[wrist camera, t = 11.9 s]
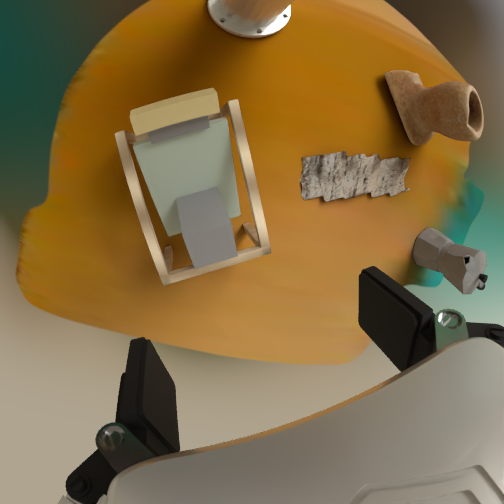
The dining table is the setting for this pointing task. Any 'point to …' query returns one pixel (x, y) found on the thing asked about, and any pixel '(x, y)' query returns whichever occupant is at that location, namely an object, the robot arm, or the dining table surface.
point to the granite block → (206, 227)
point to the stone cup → (435, 108)
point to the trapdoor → (184, 153)
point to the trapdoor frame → (256, 235)
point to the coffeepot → (451, 260)
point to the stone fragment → (351, 176)
